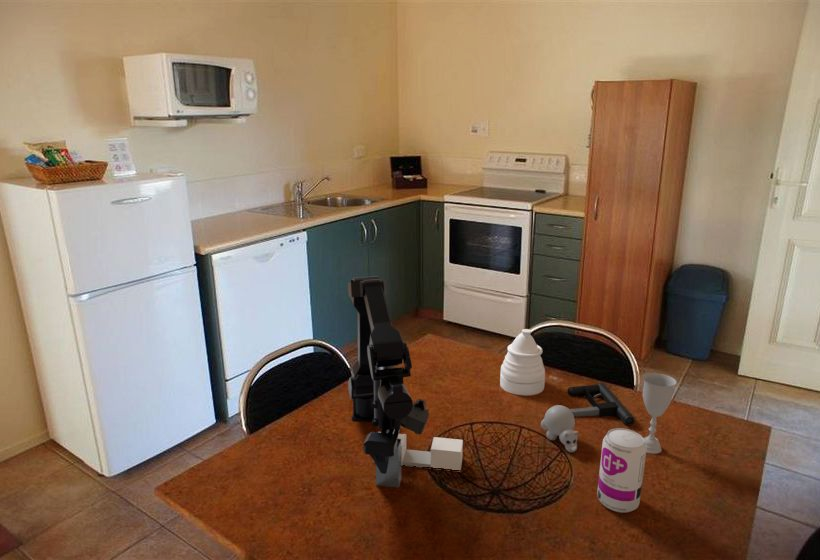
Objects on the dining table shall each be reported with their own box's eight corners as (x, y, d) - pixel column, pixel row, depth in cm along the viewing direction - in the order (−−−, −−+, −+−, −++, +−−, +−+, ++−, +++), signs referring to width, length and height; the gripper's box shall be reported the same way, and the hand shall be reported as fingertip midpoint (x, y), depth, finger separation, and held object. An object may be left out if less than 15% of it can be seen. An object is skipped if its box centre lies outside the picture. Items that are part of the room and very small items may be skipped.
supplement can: (618, 519, 113) (626, 453, 109) (588, 495, 120) (594, 432, 116) (647, 507, 116) (656, 442, 112) (616, 484, 123) (623, 423, 119)
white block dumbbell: (373, 462, 131) (373, 443, 130) (378, 450, 136) (378, 431, 135) (460, 471, 128) (460, 452, 127) (462, 458, 133) (462, 439, 131)
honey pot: (548, 395, 162) (552, 336, 157) (503, 395, 163) (506, 336, 157) (539, 375, 175) (543, 320, 170) (497, 375, 175) (499, 320, 170)
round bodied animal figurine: (555, 463, 135) (563, 441, 130) (535, 422, 144) (543, 400, 139) (582, 459, 137) (592, 437, 132) (562, 419, 146) (570, 397, 141)
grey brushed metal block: (376, 485, 123) (375, 444, 121) (379, 476, 126) (378, 436, 123) (398, 487, 123) (398, 446, 120) (401, 479, 125) (401, 439, 123)
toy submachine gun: (578, 421, 145) (640, 415, 146) (553, 385, 164) (608, 380, 165) (578, 432, 146) (639, 426, 147) (553, 395, 165) (607, 390, 166)
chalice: (667, 444, 139) (676, 376, 133) (666, 458, 133) (676, 388, 128) (634, 437, 142) (643, 370, 136) (632, 451, 136) (641, 382, 131)
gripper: (418, 421, 108) (418, 491, 113) (432, 378, 126) (431, 440, 130) (361, 416, 110) (363, 485, 115) (383, 374, 128) (384, 435, 132)
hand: (388, 460), depth 123 cm, fingers open, 9 cm apart
